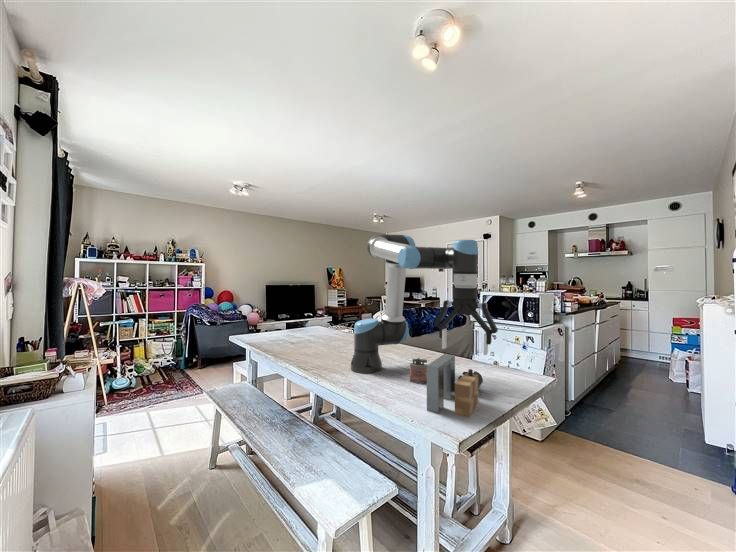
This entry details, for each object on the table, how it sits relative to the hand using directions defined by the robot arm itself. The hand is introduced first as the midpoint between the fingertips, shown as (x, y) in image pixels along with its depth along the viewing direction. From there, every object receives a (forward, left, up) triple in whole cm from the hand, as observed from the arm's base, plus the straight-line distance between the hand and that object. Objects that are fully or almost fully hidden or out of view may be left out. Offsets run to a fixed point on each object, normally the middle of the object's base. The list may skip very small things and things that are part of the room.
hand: (464, 351), depth 103 cm
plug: (0, +3, -20) cm, 20 cm away
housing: (-9, +3, -20) cm, 22 cm away
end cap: (-3, +19, -20) cm, 28 cm away
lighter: (-24, +18, -20) cm, 36 cm away
